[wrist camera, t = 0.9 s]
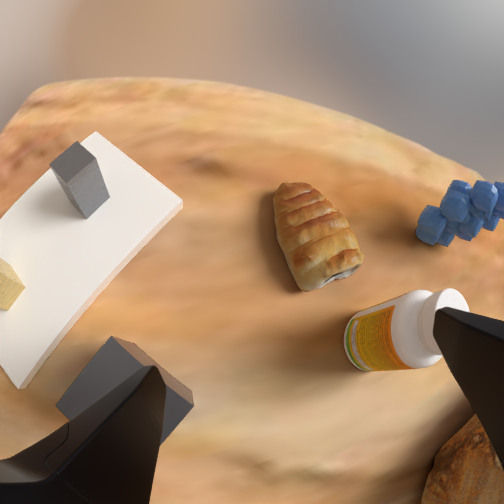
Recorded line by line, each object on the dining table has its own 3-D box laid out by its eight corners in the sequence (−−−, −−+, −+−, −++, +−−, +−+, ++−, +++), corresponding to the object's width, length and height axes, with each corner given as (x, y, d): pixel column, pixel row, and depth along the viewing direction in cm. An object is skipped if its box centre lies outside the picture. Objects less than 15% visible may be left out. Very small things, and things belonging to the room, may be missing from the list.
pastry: (250, 201, 25) (261, 175, 21) (311, 184, 27) (328, 161, 24) (298, 301, 22) (319, 289, 19) (359, 271, 25) (384, 256, 21)
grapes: (449, 209, 31) (511, 162, 20) (464, 257, 29) (534, 217, 18) (388, 199, 29) (459, 132, 18) (404, 258, 26) (493, 202, 15)
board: (25, 388, 15) (18, 389, 14) (-39, 284, 15) (-46, 280, 14) (182, 207, 23) (182, 200, 22) (98, 139, 24) (95, 131, 23)
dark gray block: (149, 441, 16) (134, 474, 10) (93, 394, 16) (55, 405, 10) (191, 391, 18) (194, 406, 12) (134, 343, 18) (110, 335, 12)
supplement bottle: (364, 384, 21) (453, 383, 12) (329, 336, 22) (413, 314, 13) (400, 342, 23) (484, 323, 14) (370, 297, 24) (450, 260, 15)
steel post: (86, 219, 20) (66, 183, 15) (69, 201, 20) (49, 164, 15) (110, 197, 21) (96, 157, 16) (92, 180, 21) (77, 140, 16)
